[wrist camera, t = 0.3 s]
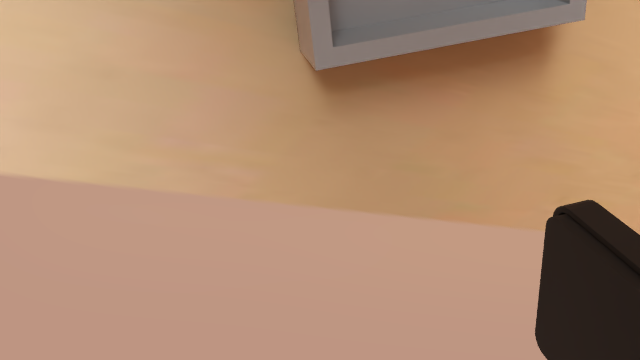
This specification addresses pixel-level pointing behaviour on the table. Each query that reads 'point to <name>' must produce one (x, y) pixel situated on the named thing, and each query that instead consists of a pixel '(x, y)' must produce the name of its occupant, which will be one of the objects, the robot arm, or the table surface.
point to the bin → (415, 25)
